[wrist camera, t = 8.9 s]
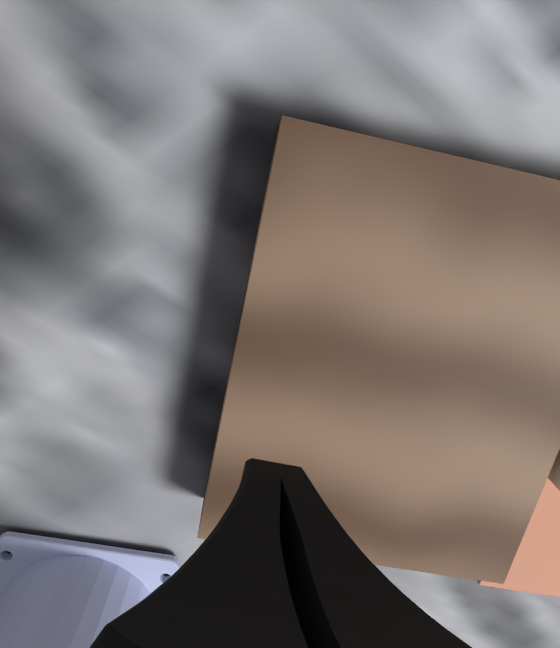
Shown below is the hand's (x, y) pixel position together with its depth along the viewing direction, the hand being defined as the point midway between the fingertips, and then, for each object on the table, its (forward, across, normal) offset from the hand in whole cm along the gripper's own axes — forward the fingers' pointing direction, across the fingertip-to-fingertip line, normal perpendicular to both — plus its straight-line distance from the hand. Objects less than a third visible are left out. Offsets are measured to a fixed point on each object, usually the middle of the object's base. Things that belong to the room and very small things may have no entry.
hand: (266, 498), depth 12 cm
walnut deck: (+9, -5, -1) cm, 11 cm away
